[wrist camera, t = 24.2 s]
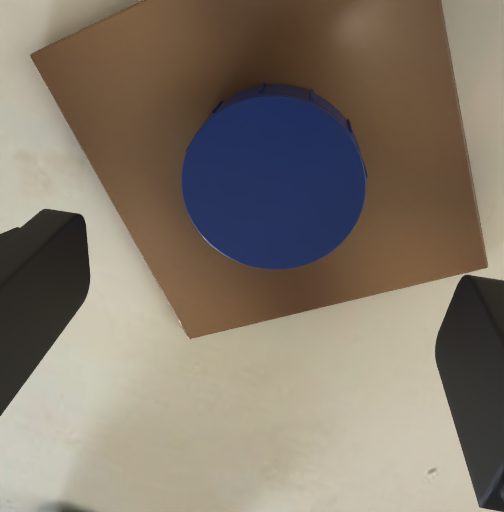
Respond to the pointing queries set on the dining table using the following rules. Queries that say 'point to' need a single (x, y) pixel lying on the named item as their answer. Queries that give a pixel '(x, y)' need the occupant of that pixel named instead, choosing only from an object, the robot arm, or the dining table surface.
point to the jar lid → (274, 177)
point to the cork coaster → (271, 72)
